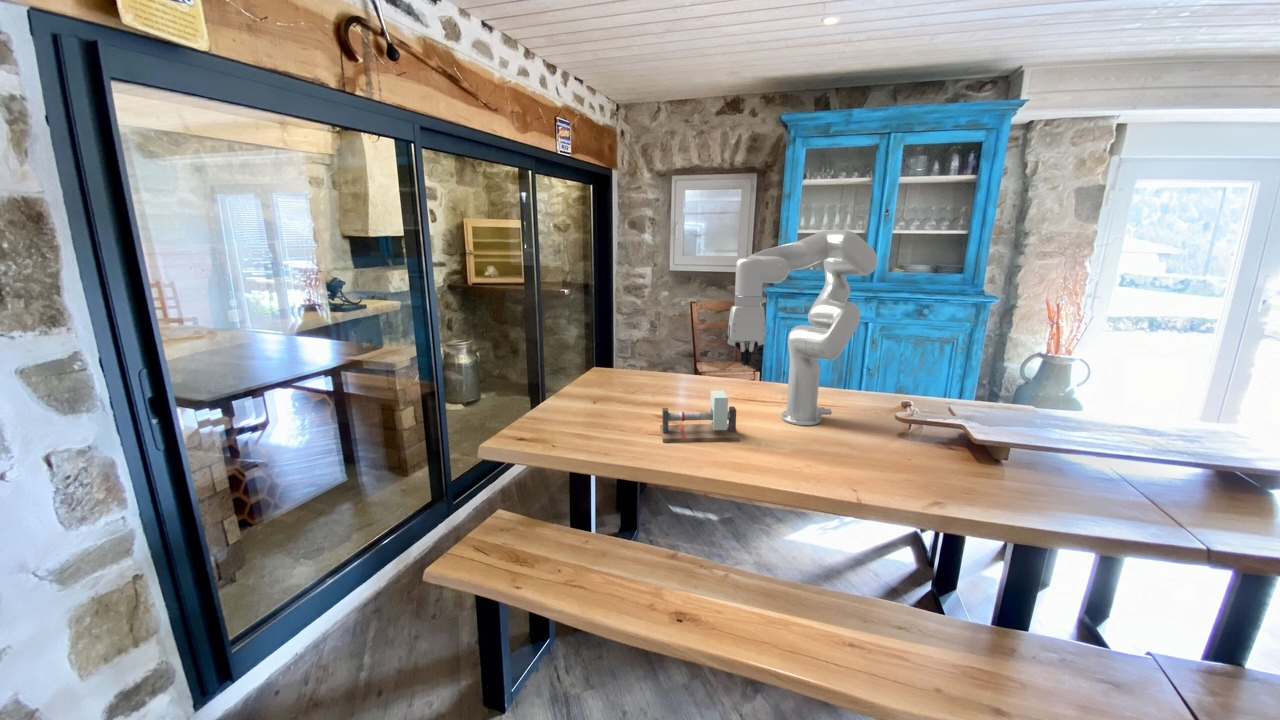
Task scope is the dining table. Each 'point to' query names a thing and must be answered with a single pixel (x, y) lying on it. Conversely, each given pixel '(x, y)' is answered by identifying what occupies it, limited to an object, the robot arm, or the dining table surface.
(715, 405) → the sleeve block
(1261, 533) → the dining table surface
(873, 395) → the dining table surface
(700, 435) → the rod stand
